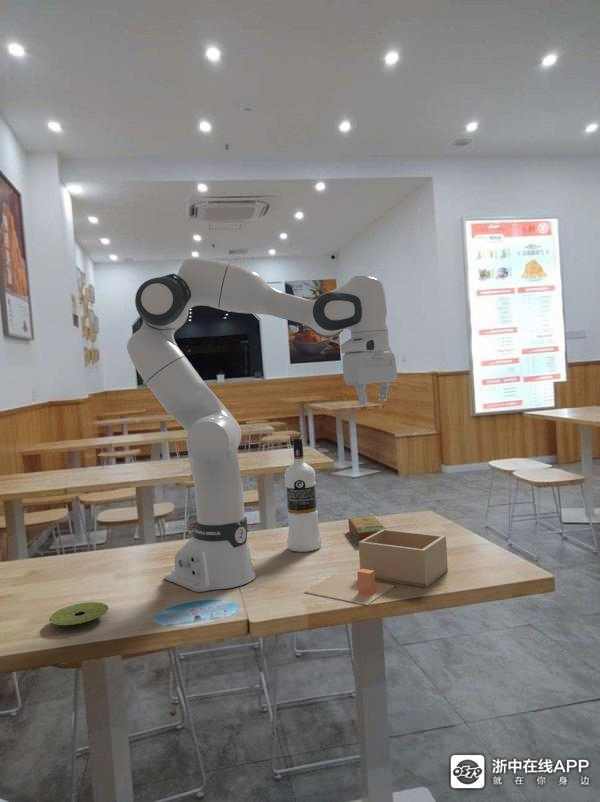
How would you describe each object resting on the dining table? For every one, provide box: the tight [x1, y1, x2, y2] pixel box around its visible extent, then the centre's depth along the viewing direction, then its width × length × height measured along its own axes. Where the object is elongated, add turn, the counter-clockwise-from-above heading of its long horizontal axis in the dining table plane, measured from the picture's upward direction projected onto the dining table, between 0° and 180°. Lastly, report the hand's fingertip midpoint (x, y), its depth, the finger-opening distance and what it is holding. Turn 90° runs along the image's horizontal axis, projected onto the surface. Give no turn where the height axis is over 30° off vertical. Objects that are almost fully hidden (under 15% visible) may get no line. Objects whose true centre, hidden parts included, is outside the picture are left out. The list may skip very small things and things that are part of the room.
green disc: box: [48, 601, 109, 626], centre depth 118 cm, size 11×11×2 cm
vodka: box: [283, 437, 323, 553], centre depth 158 cm, size 9×9×30 cm
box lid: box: [303, 569, 394, 607], centre depth 126 cm, size 16×12×5 cm
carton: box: [347, 516, 386, 547], centre depth 165 cm, size 8×16×4 cm, turn 5°
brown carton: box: [358, 528, 449, 589], centre depth 134 cm, size 16×12×8 cm
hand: (373, 402), depth 141 cm, fingers open, 8 cm apart
